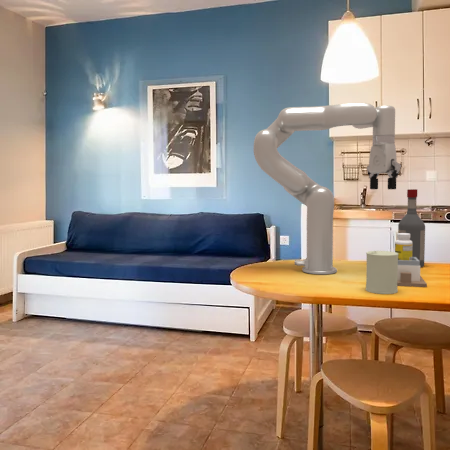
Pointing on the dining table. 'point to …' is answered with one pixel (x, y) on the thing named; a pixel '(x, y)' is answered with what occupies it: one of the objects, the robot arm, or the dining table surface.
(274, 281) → the dining table surface
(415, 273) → the display riser
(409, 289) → the dining table surface
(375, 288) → the can
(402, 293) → the dining table surface
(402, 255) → the supplement bottle
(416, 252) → the liquor
